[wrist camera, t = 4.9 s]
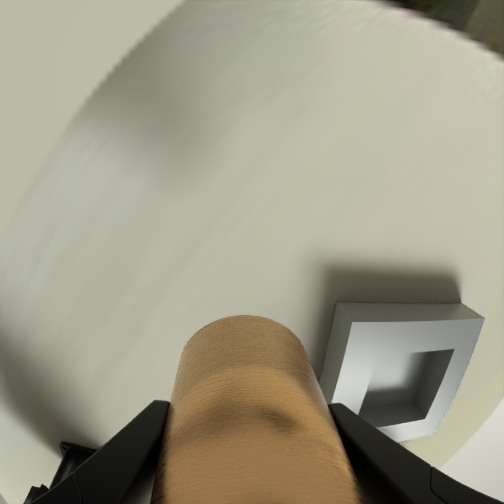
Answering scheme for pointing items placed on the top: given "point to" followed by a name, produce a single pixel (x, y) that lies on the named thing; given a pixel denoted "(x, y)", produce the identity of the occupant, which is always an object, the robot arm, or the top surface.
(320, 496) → the battery cell
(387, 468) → the robot arm
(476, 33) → the top surface
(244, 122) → the top surface
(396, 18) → the top surface
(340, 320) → the gray cradle
